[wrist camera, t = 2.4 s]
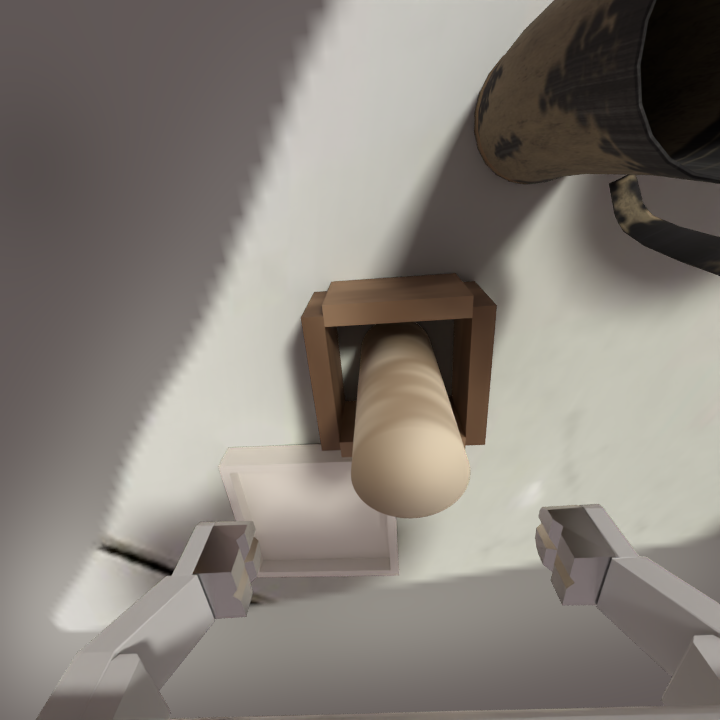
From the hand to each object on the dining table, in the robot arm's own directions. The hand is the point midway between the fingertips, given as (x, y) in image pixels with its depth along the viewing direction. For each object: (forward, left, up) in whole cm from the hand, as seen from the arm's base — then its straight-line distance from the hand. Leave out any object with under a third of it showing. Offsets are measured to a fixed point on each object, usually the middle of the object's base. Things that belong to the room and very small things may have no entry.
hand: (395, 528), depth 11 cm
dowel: (-1, 0, -12) cm, 12 cm away
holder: (-1, 0, -12) cm, 12 cm away
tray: (+5, +12, -12) cm, 18 cm away
